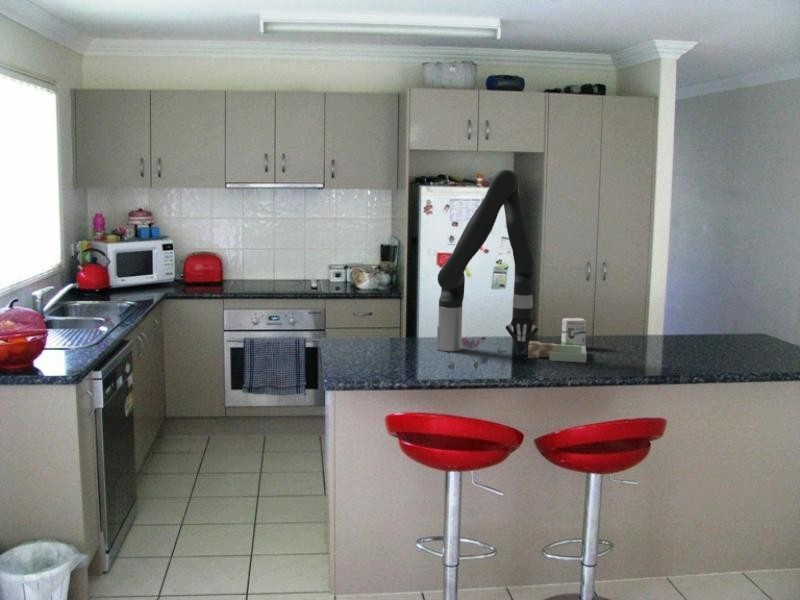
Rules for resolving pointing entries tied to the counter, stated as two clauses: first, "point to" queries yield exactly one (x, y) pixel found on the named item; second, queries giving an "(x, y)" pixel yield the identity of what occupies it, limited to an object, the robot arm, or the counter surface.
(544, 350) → the t block
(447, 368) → the counter surface
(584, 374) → the counter surface
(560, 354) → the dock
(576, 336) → the ink box
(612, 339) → the counter surface
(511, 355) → the counter surface
